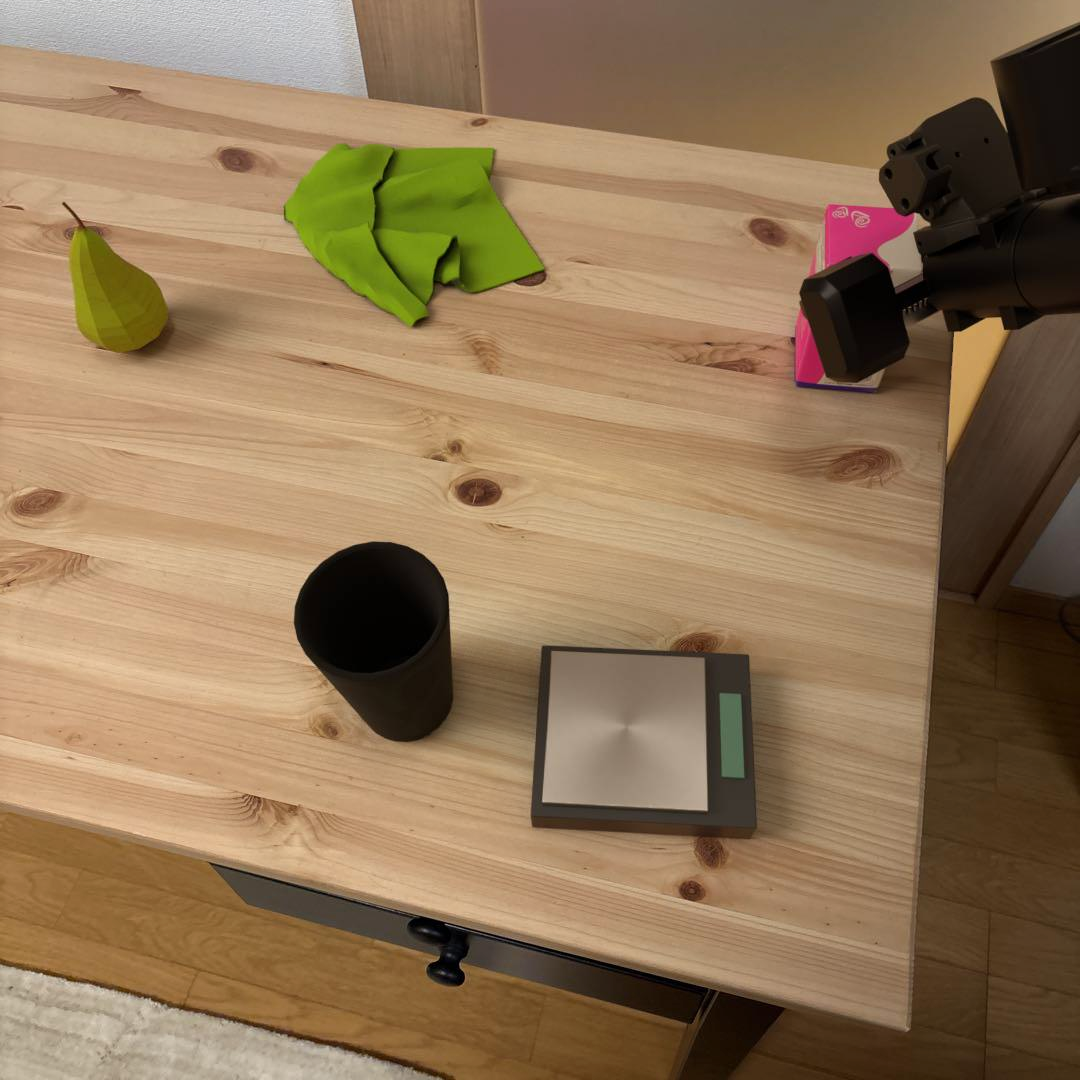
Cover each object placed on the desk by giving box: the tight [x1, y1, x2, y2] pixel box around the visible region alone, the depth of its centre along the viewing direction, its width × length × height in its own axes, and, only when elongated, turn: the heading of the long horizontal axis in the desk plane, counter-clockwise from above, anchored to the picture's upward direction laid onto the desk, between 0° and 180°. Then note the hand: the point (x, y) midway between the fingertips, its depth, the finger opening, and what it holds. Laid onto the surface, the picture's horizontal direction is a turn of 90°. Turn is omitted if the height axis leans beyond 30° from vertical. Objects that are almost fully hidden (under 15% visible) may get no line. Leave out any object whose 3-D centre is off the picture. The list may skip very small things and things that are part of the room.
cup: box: [293, 541, 454, 743], centre depth 54 cm, size 8×8×12 cm
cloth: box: [283, 142, 546, 328], centre depth 78 cm, size 20×22×2 cm
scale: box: [530, 644, 758, 840], centre depth 56 cm, size 12×10×3 cm
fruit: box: [61, 201, 170, 354], centre depth 70 cm, size 6×6×12 cm
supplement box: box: [794, 203, 923, 394], centre depth 67 cm, size 6×6×12 cm
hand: (859, 279), depth 65 cm, fingers open, 9 cm apart
